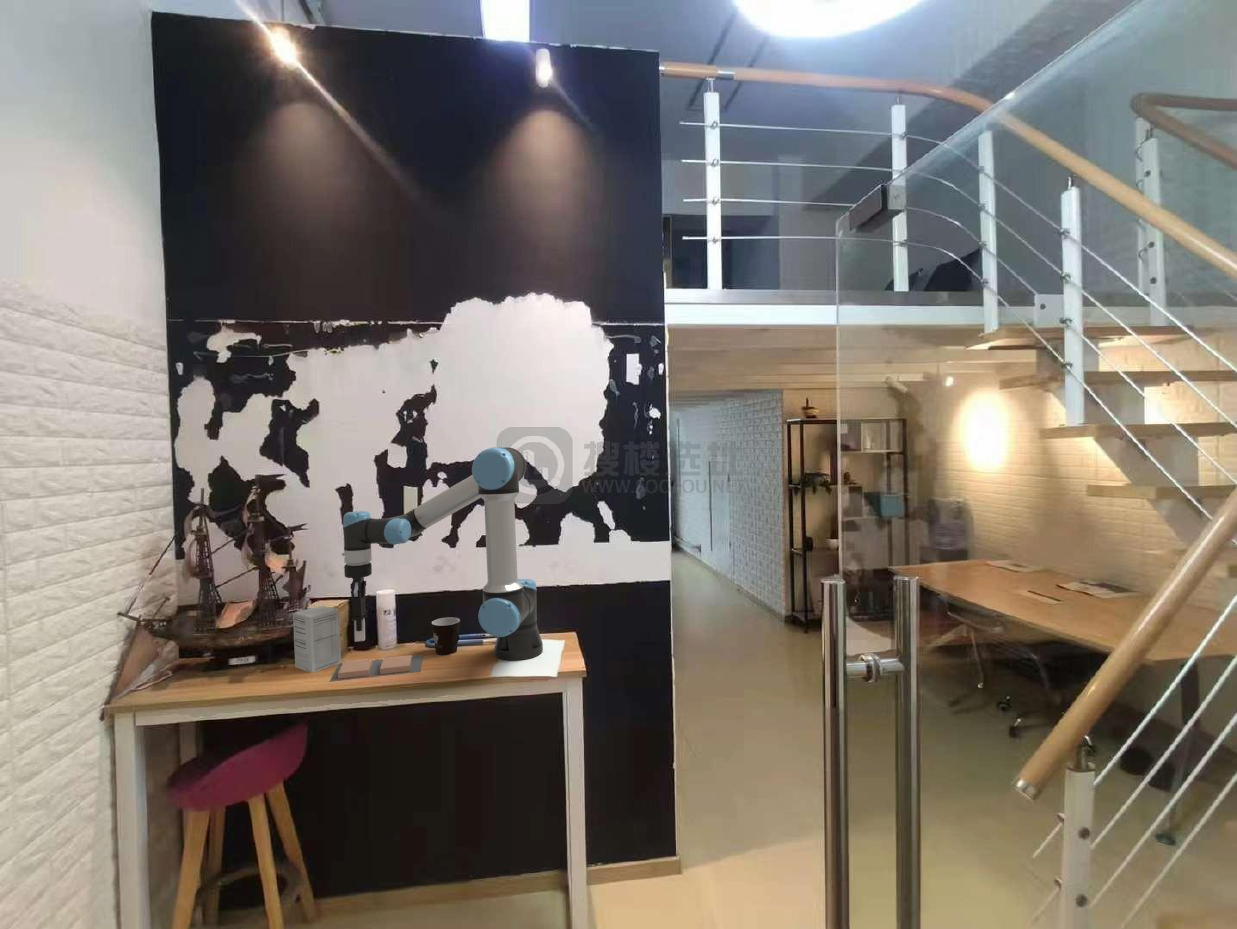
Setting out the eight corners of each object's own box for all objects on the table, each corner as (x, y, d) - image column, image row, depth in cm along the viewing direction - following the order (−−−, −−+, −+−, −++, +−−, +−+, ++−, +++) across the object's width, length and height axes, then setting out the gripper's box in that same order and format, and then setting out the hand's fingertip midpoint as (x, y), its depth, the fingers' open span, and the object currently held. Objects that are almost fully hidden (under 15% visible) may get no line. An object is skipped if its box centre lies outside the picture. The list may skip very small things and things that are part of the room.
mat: (423, 656, 183) (423, 655, 183) (420, 673, 169) (420, 671, 169) (339, 665, 176) (339, 663, 176) (329, 683, 163) (329, 681, 163)
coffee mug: (432, 649, 189) (431, 619, 188) (459, 646, 191) (459, 616, 191) (432, 662, 178) (431, 629, 177) (461, 658, 180) (461, 626, 180)
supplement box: (324, 658, 182) (323, 604, 182) (342, 664, 177) (340, 608, 177) (293, 668, 174) (292, 612, 174) (311, 674, 169) (309, 616, 169)
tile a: (412, 655, 178) (409, 665, 169) (412, 660, 178) (409, 671, 169) (383, 657, 176) (379, 668, 167) (383, 663, 176) (380, 674, 167)
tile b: (373, 658, 175) (368, 669, 166) (373, 664, 175) (368, 675, 166) (343, 661, 173) (337, 673, 164) (344, 667, 173) (338, 679, 164)
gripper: (347, 559, 182) (349, 635, 183) (340, 568, 170) (342, 648, 170) (373, 558, 184) (375, 632, 185) (368, 566, 172) (370, 646, 172)
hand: (359, 640), depth 178 cm, fingers closed
